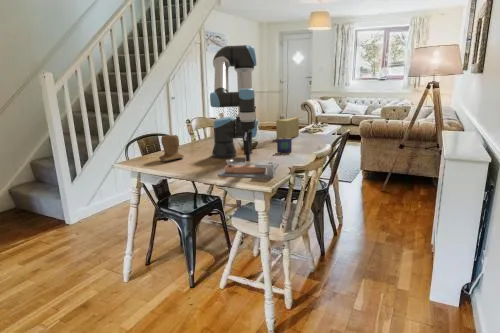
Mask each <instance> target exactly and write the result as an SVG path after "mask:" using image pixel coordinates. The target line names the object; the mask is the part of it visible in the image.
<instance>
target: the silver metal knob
mask: <svg viewBox="0 0 500 333" xmlns="http://www.w3.org/2000/svg"><path fill="white" fill-rule="evenodd" d="M232 162H235V161H234V159H232V158H231V159H230V158H227V159H226V160H225V163H226V164H227V165H226V166H233V163H232Z"/></svg>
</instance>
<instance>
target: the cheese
mask: <svg viewBox="0 0 500 333" xmlns="http://www.w3.org/2000/svg"><path fill="white" fill-rule="evenodd" d="M275 122H276V126H275V127H276V128H275V130H276V131H275V132H276V133H275V134H276V140H277V139H278V138H283V137H284V136H286V138H292V139H293V138H296V137H299V136H300V124H299V123H300V122H299V117H298V116H295V117H291V118H287V119H277V120H276V121H275Z"/></svg>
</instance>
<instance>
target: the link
mask: <svg viewBox="0 0 500 333" xmlns="http://www.w3.org/2000/svg"><path fill="white" fill-rule="evenodd" d="M224 169H225V172H226V173H266V168H256V167H255V165H233V166H227V165H225V166H224Z"/></svg>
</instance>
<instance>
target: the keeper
mask: <svg viewBox="0 0 500 333" xmlns="http://www.w3.org/2000/svg"><path fill="white" fill-rule="evenodd" d="M255 163H256V164H255V167H256V168H267V176H270V178H274V177H275V175H276V169H275V164H276V161H275V160H260V159H259V160H258V161H256V162H255Z"/></svg>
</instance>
